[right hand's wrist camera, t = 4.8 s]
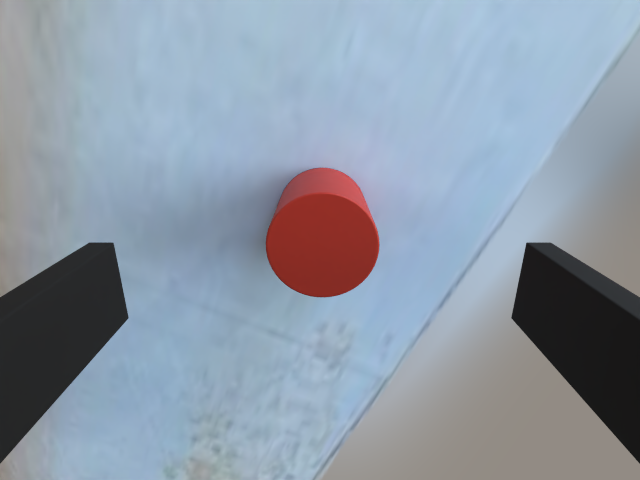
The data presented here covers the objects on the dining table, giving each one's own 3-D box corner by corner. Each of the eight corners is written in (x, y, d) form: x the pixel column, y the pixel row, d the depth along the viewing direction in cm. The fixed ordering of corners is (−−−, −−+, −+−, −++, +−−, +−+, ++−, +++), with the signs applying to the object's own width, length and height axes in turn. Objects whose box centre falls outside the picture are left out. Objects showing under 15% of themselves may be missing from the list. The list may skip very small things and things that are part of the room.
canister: (365, 165, 18) (380, 189, 13) (365, 248, 19) (379, 295, 15) (275, 169, 18) (259, 194, 13) (282, 252, 19) (271, 300, 15)
